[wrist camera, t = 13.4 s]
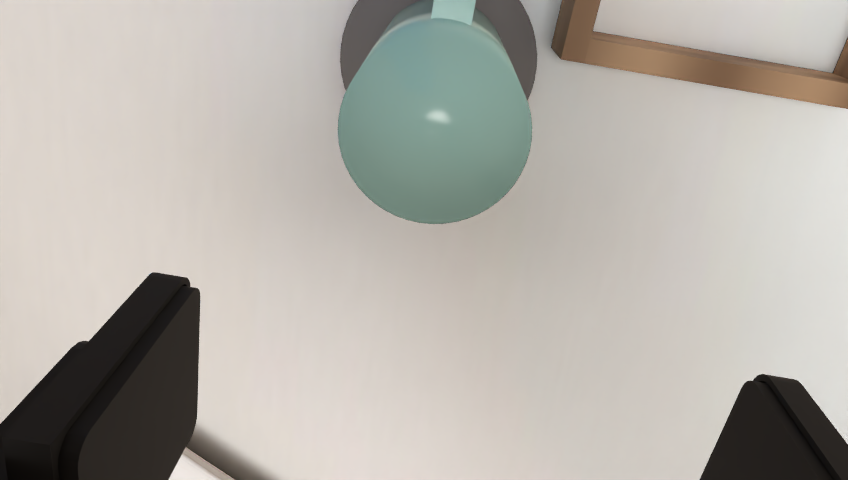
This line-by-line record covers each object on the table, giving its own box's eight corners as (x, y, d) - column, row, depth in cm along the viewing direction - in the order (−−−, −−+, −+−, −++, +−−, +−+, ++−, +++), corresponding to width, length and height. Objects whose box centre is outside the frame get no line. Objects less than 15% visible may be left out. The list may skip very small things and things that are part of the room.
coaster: (556, -24, 29) (558, -23, 29) (512, 167, 33) (513, 171, 32) (353, -60, 29) (352, -60, 28) (333, 137, 33) (331, 141, 32)
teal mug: (491, 139, 32) (508, 236, 22) (367, 118, 32) (329, 208, 22) (530, -47, 28) (572, -31, 18) (391, -71, 28) (358, -68, 18)
